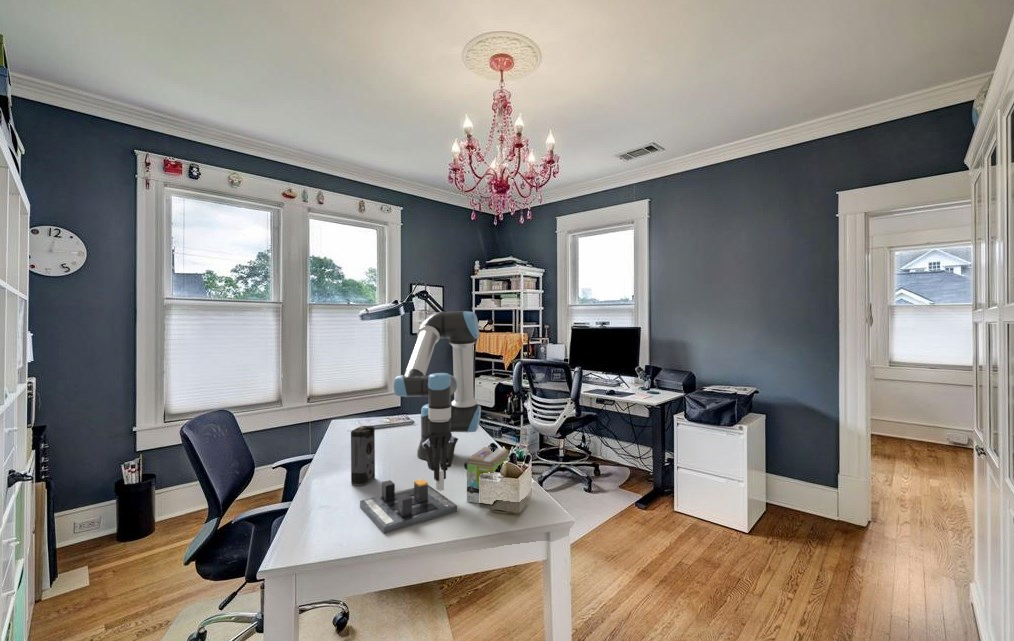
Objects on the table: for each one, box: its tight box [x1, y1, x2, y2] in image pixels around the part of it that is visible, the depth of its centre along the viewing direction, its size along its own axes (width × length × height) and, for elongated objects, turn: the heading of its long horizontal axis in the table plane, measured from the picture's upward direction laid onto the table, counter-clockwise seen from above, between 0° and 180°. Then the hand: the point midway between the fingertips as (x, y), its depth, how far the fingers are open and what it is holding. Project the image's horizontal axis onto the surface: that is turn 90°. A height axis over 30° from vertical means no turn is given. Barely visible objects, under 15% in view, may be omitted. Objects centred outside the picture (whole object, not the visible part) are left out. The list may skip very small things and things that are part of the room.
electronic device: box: [350, 425, 376, 487], centre depth 167 cm, size 9×6×20 cm, turn 168°
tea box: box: [466, 446, 510, 504], centre depth 153 cm, size 15×10×15 cm
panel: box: [359, 479, 458, 535], centre depth 143 cm, size 24×22×7 cm
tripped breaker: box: [413, 478, 429, 502], centre depth 145 cm, size 3×4×6 cm
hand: (440, 489), depth 149 cm, fingers closed
